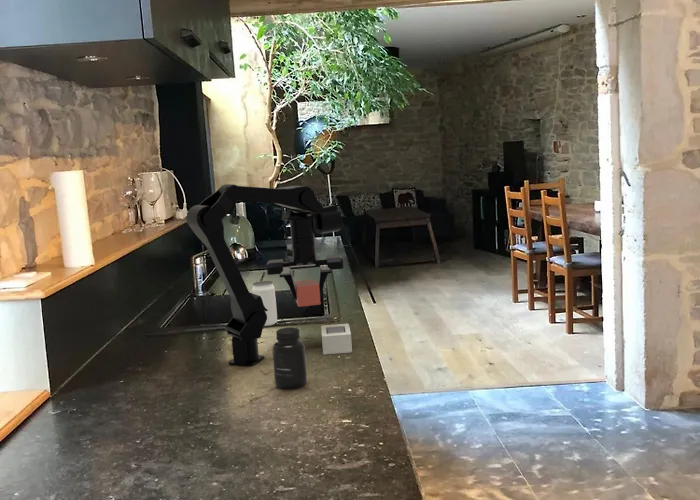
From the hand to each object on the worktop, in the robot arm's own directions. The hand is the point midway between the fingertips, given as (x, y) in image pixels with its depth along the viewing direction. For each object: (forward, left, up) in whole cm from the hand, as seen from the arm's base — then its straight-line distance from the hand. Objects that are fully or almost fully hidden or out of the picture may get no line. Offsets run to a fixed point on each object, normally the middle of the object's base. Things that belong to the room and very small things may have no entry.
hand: (307, 298), depth 173 cm
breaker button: (-1, -7, -11) cm, 13 cm away
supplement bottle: (-27, -8, -12) cm, 31 cm away
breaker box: (-1, -7, -12) cm, 14 cm away
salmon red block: (0, 0, -1) cm, 1 cm away
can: (+17, +22, -12) cm, 31 cm away
